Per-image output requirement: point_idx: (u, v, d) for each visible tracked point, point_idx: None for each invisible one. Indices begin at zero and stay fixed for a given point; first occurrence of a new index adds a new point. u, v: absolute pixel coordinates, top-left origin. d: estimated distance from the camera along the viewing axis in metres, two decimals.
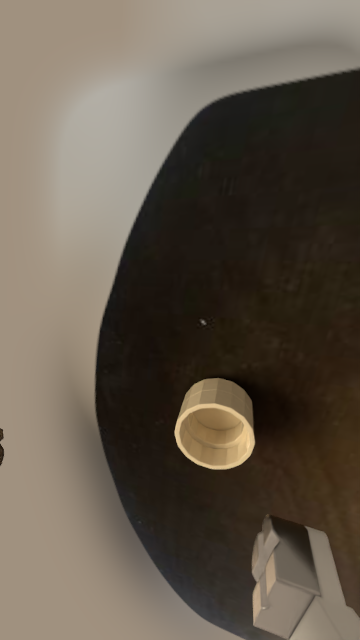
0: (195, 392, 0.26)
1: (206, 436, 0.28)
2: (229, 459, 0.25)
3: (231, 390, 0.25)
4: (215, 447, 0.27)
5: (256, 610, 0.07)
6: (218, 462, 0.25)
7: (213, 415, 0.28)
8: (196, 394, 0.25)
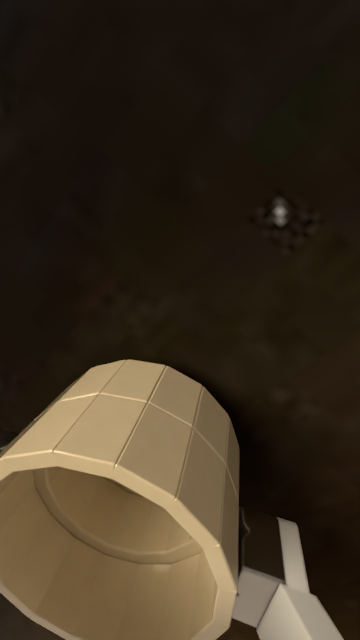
0: (121, 388, 0.08)
1: (74, 490, 0.10)
2: (93, 613, 0.08)
3: (224, 447, 0.08)
4: (78, 535, 0.10)
5: None
6: (59, 606, 0.08)
7: None
8: (123, 402, 0.07)
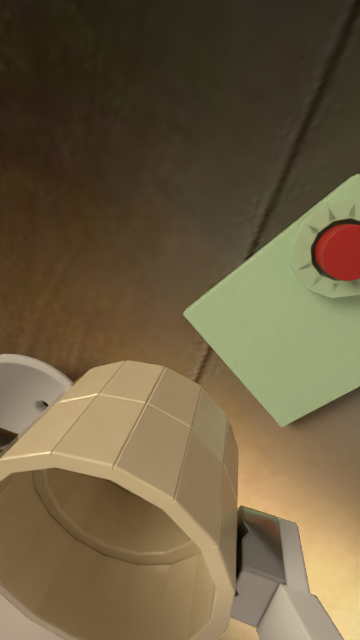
0: (120, 390, 0.08)
1: (73, 491, 0.10)
2: (92, 614, 0.08)
3: (222, 448, 0.08)
4: (77, 536, 0.10)
5: None
6: (58, 607, 0.08)
7: None
8: (121, 403, 0.07)
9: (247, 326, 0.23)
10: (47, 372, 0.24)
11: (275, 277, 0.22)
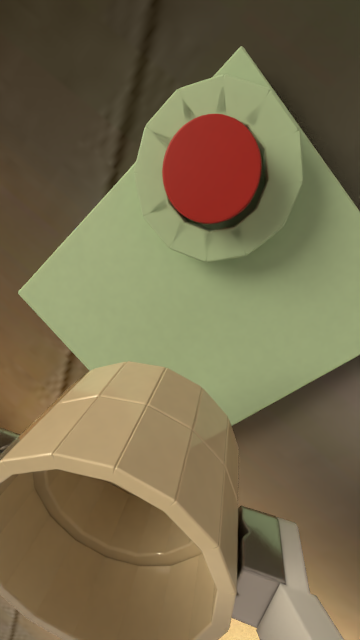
0: (121, 391, 0.08)
1: (74, 492, 0.10)
2: (93, 615, 0.08)
3: (223, 449, 0.08)
4: (78, 537, 0.10)
5: None
6: (59, 608, 0.08)
7: None
8: (122, 404, 0.07)
9: (105, 311, 0.15)
10: None
11: (134, 233, 0.14)
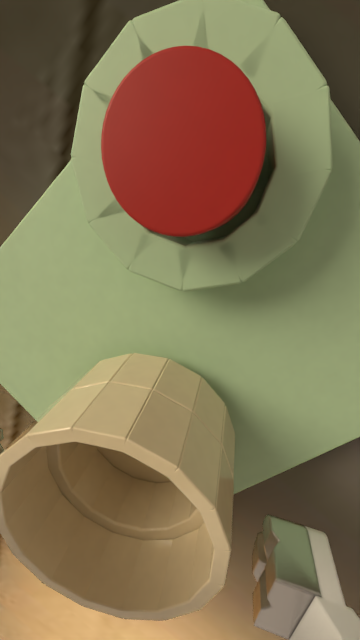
0: (128, 378, 0.09)
1: (83, 474, 0.11)
2: (102, 581, 0.09)
3: (220, 430, 0.09)
4: (87, 514, 0.10)
5: (256, 610, 0.07)
6: (71, 574, 0.09)
7: None
8: (130, 389, 0.08)
9: (54, 349, 0.12)
10: None
11: (86, 245, 0.10)
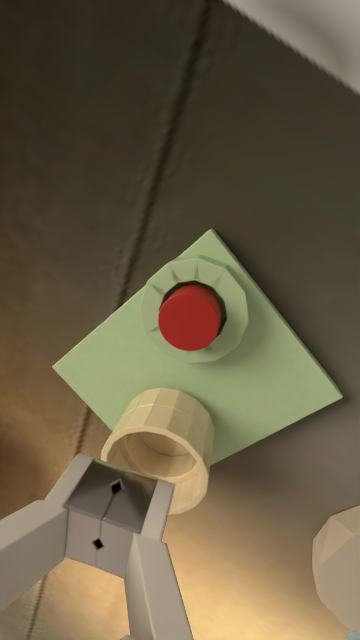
0: (162, 402, 0.18)
1: (135, 450, 0.21)
2: None
3: (206, 427, 0.19)
4: (138, 471, 0.20)
5: None
6: None
7: None
8: (164, 408, 0.18)
9: (117, 383, 0.21)
10: None
11: (139, 333, 0.20)
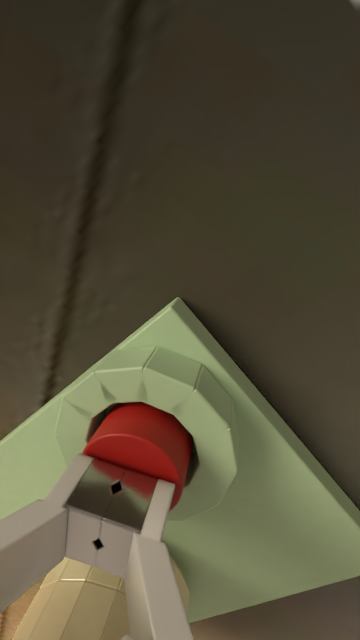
0: (101, 574, 0.11)
1: None
2: None
3: None
4: None
5: None
6: None
7: None
8: (101, 592, 0.11)
9: None
10: None
11: None
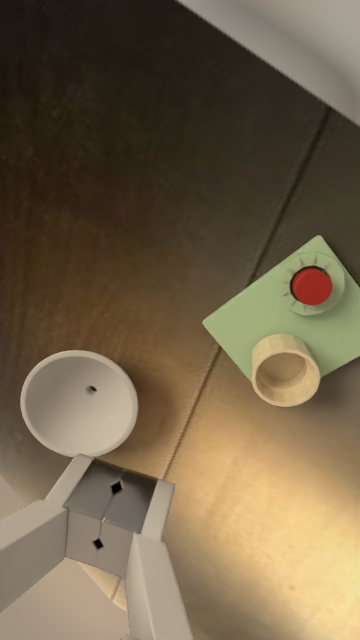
0: (286, 339, 0.31)
1: (260, 374, 0.33)
2: (276, 399, 0.31)
3: (311, 355, 0.31)
4: (264, 385, 0.32)
5: None
6: (268, 396, 0.31)
7: (272, 363, 0.33)
8: (289, 342, 0.30)
9: (247, 333, 0.33)
10: (105, 363, 0.34)
11: (266, 300, 0.32)
